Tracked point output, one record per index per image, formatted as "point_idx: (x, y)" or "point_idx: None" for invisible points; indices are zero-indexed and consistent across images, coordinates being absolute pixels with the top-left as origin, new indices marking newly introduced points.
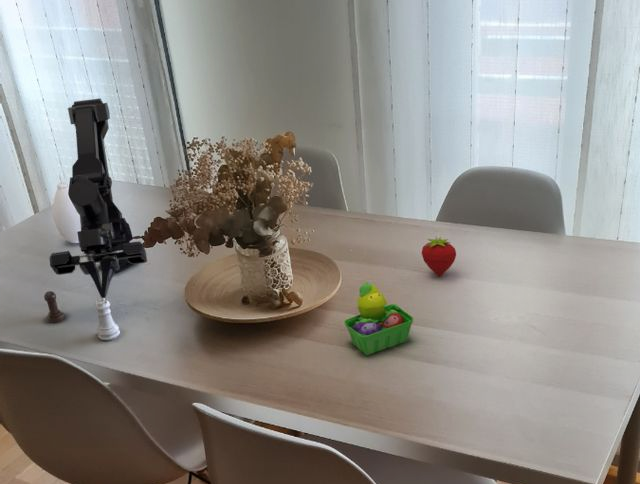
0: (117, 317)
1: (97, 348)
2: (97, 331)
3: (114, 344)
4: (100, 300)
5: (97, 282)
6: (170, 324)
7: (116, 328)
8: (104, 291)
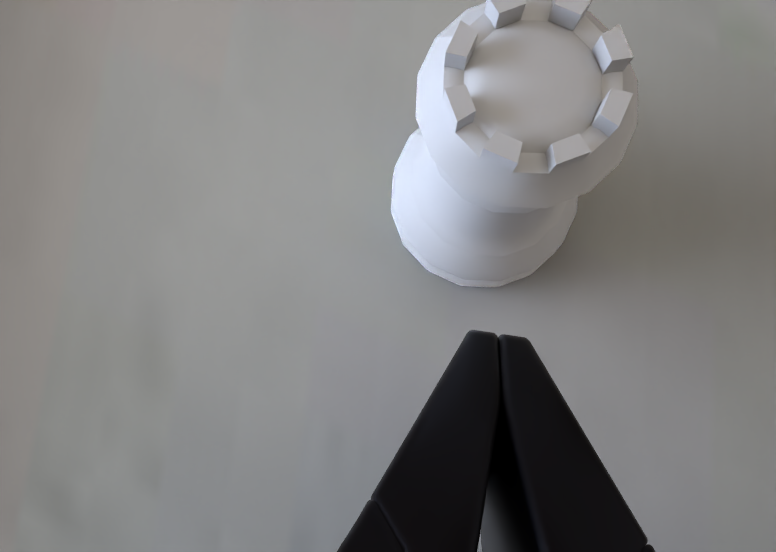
0: None
1: None
2: (577, 200)
3: None
4: (541, 169)
5: (573, 499)
6: (2, 181)
7: (412, 142)
8: (464, 362)
